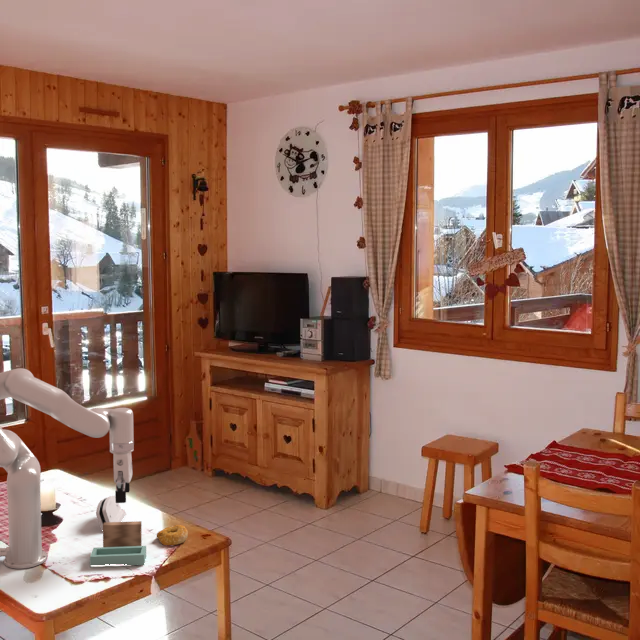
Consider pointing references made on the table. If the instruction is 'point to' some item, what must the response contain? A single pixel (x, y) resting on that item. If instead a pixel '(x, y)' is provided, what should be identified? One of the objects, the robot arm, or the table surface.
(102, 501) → the white curved piece
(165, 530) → the bagel
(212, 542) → the table surface
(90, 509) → the table surface
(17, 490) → the robot arm
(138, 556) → the green rectangular tray
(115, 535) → the brown wooden board
